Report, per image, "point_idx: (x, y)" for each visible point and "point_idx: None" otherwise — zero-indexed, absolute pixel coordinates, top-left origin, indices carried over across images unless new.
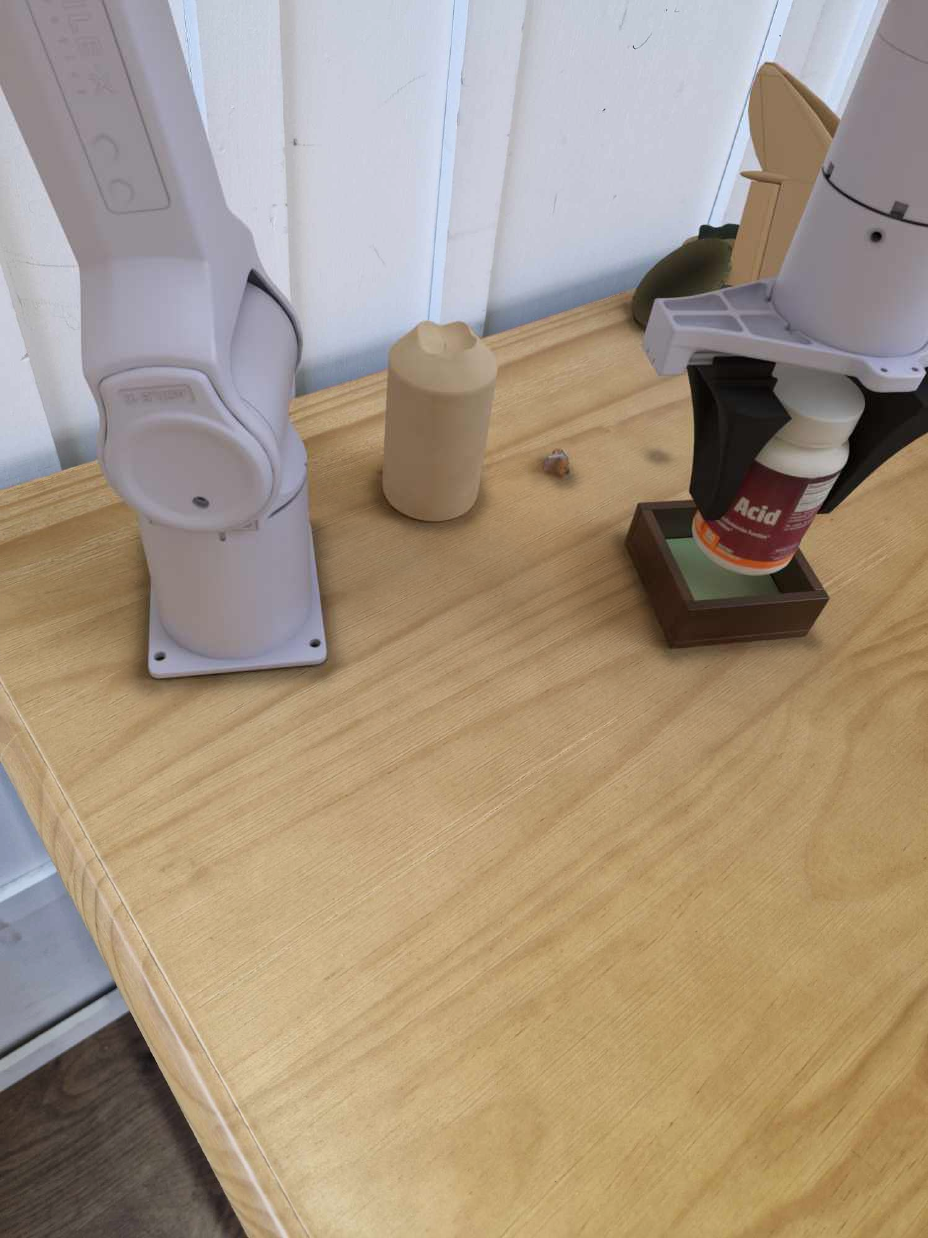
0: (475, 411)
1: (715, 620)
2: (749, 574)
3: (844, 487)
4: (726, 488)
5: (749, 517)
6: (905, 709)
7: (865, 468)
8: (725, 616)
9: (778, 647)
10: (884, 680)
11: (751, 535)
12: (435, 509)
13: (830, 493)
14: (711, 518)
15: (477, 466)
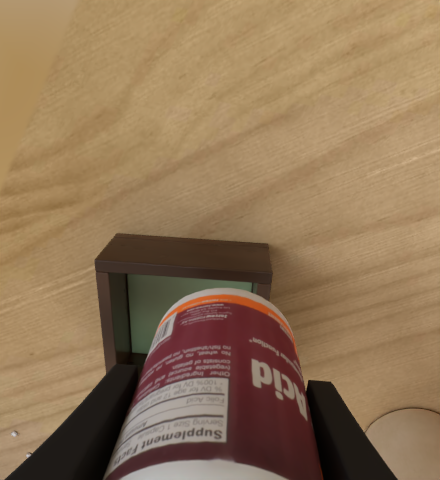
0: None
1: (232, 259)
2: (246, 291)
3: (104, 412)
4: (363, 447)
5: (289, 378)
6: (42, 126)
7: (65, 455)
8: (221, 260)
9: (152, 225)
10: (52, 166)
11: (273, 346)
12: (431, 421)
13: (121, 401)
14: (326, 384)
15: (403, 464)
